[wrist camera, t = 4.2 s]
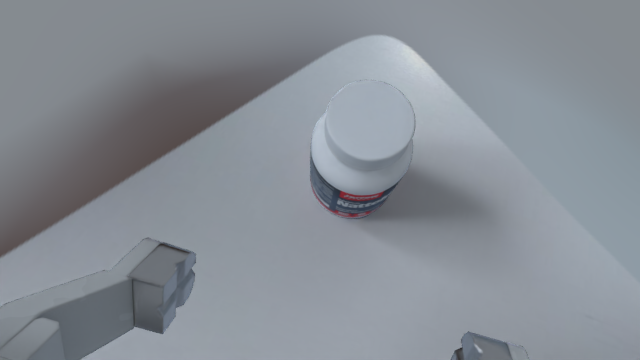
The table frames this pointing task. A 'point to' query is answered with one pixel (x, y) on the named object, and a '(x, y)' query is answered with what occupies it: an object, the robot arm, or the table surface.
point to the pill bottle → (361, 148)
